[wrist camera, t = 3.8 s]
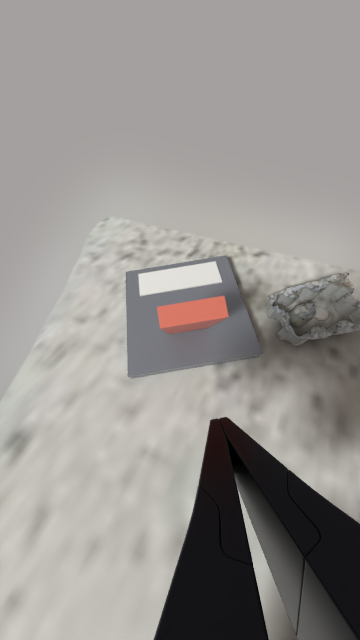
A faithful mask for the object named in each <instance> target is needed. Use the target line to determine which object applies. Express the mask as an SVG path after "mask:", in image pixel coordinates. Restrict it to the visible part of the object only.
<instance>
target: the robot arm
mask: <svg viewBox="0 0 360 640" xmlns="http://www.w3.org/2000/svg"><path fill="white" fill-rule="evenodd" d="M237 487H238V490H239V492H240V495H241V497H242V500H243V502H244V505H245V507H246V510H247V512H248V515H249V517H250V520H251V522H252V525H253V528H254V530H255V533H256V535H257V538H258V540H259V543H260V545H261V548H262V550H263V553H264V555H265V558H266V560H267V563H268V566H269V568H270V571H271V573H272V576H273V578H274V581H275V583H276V586H277V588H278V591H279V593H280V596H281V598H282V601H283V603H284V606H285V609H286V611H287V614H288V616H289V619H290V621H291V624H292V626H293V629H294V631H295V634H296V635H297V639H298V640H360V524H359V523H358V522H357V521H355V520H354V519H353V518H351V517H350V516H348V515H347V514H346V513H344V512H343V511H342V510H340V509H339V508H337V507H336V506H335V505H333V504H332V503H331V502H329V501H328V500H327V499H325V498H324V497H323V496H321V495H320V494H319V493H317V492H316V491H315V490H313V489H312V488H311V487H310V486H308V485H307V484H306V483H305V482H303V481H302V480H301V479H300V478H299V477H297V476H296V475H295V474H294V473H293V472H291V471H290V470H288V469H287V468H286V467H285V466H284V465H283V464H282V463H280V462H279V461H278V460H277V459H276V458H275V457H273V456H272V455H271V454H270V453H269V452H268V451H266V450H265V449H264V448H263V447H262V446H260V445H259V444H258V443H257V442H256V441H255V440H253V439H252V438H251V437H250V436H249V435H248V434H246V433H245V432H244V431H243V430H242V429H240V428H239V427H238V426H237V425H236V424H235V423H233V422H232V421H231V420H230V419H229V418H227V417H223V418H220V419H212V420H211V421H210V425H209V431H208V436H207V441H206V447H205V452H204V458H203V463H202V468H201V474H200V479H199V486H198V489H197V494H196V499H195V504H194V508H193V513H192V516H191V520H190V523H189V527H188V531H187V534H186V537H185V540H184V543H183V547H182V550H181V553H180V556H179V560H178V563H177V566H176V569H175V573H174V576H173V579H172V582H171V585H170V589H169V592H168V595H167V598H166V602H165V605H164V608H163V611H162V615H161V618H160V621H159V624H158V628H157V631H156V634H155V637H154V640H269V639H268V634H267V630H266V625H265V620H264V615H263V610H262V605H261V601H260V596H259V591H258V586H257V581H256V576H255V572H254V568H253V562H252V557H251V552H250V548H249V543H248V538H247V533H246V528H245V523H244V519H243V514H242V509H241V504H240V499H239V494H238V490H237Z"/></svg>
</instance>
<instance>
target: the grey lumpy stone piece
mask: <svg viewBox="0 0 360 640" xmlns="http://www.w3.org/2000/svg"><path fill="white" fill-rule="evenodd" d="M347 275H349V273H343V274H337V275H331V276H328V277H325V278H322V279H321V280H319V281H314V282H308V283H306V284H303V285H298V286H292V287H290V288H287V289H285V290H283V291H281V292H278V293H276V294H274V295H269V296H268V297H270V301H269V302H270V307H269V308H268V310H267V311H266V314H267V315H268V317H269V318H275V319H277V320H279V321H280V323H281V325H282V328H281V330H280V331H279V332H277V335H278V337H279V339H280V340H286V341H289V342H290V343H291V344H292V345H293V346H298V345H301V344H302V343H304V342H305V341H307V340H308V339H312V340H313V339H318V340H321V339H325V338H327V337H329V336H331V335H338V334H344V333H351V332H356V331H359V330H360V301H358V302H356V301H355V300H354V298H353V297H352V296H351V294H352V293H353V291H354V287H353V285H352V283H351V282H350V281H349V279H348V277H347ZM320 292H323V293H324V294H326V295H333V296H334V297H335V298H336V300H337V301H336V302H335V303H334V305H333V307H334V309H335V310H336V311H337V312H338V313H339V314H342V315H348V316H349V317H350V318H351V320H352V322H350V321H349V320H348V321H345V320H344V321H339V322H337V323H336V324H334V325H333V326H331V327H329V328H328V329H326V328H325V326H321V327H319V326H314V327H312V328H311V330H309V331H308V332H306V333H305V334H303V335H302V336H297V335H295V332H294V330H293V327H292V326H291V325H293V326H295V327H302V326H303V325H305V324H306V323H307V322H309V321H310V320H311V319H312V318H313V317H314V318H315V319H317V320H320V321H325V320H327V319H328V318H329V313H328V311H327V310H326V309H325V308H323V307H320V306H315V304H314V303H313V302H306V303H304V304H300V305H297V306H296V307H295V308H294V309H293V310H292V311H291V312H290V313H289V312H284V310H283V309H279V307H278V305H276V306H272V305H273V304H274V302H278V303H279V304H280V305H283V306H289V305H291V304H292V303H293V302H294V301H295V300H296V299H297V298H298V297H300V298H302V299H304V300H308V301H309V300H312V299H314V298H315V297H316V296H317V295H318V294H319V293H320ZM314 306H315V307H314ZM289 324H291V325H289Z"/></svg>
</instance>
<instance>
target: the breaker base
mask: <svg viewBox="0 0 360 640" xmlns="http://www.w3.org/2000/svg"><path fill="white" fill-rule="evenodd" d="M219 296H225V301H226V306H227V311H228V316H229V317H228V318H226V319H224V320H222V321H220V322H219V323H217V324H215V325H213V326H211V327H209V328H205V329H199V330H193V331H187V332H181V333H175V334H168V333H167V332H165V331H163V330H162V329H160V325H159V318H158V312H157V307H159V306H165V305H171V304H177V303H183V302H189V301H195V300H201V299H207V298H213V297H219ZM126 306H127V353H128V377H130V378H137V377H143V376H149V375H155V374H161V373H166V372H172V371H178V370H184V369H190V368H196V367H202V366H208V365H213V364H219V363H225V362H231V361H237V360H243V359H249V358H255V357H259V356H260V355H262V354H263V352H262V350H261V347H260V344H259V342H258V339H257V336H256V334H255V331H254V328H253V326H252V323H251V320H250V317H249V315H248V312H247V309H246V307H245V304H244V301H243V299H242V296H241V293H240V291H239V288H238V285H237V282H236V280H235V277H234V274H233V272H232V269H231V266H230V264H229V261H228V258H227V256H220V257H214V258H208V259H202V260H196V261H190V262H184V263H178V264H172V265H166V266H160V267H154V268H147V269H141V270H135V271H129V272H126Z"/></svg>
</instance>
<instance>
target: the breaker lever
mask: <svg viewBox="0 0 360 640" xmlns="http://www.w3.org/2000/svg"><path fill="white" fill-rule="evenodd" d="M157 312H158V318H159V325H160V329H162V330H163V331H165V332H167V333H168V334H175V333H181V332H187V331H193V330H199V329H205V328H209V327H211V326H213V325H215V324H217V323H219V322H220V321H222V320H224V319H226V318H228V317H229V316H228V311H227V306H226V301H225V296H219V297H213V298H207V299H201V300H195V301H189V302H183V303H177V304H171V305H165V306H159V307H157Z"/></svg>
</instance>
